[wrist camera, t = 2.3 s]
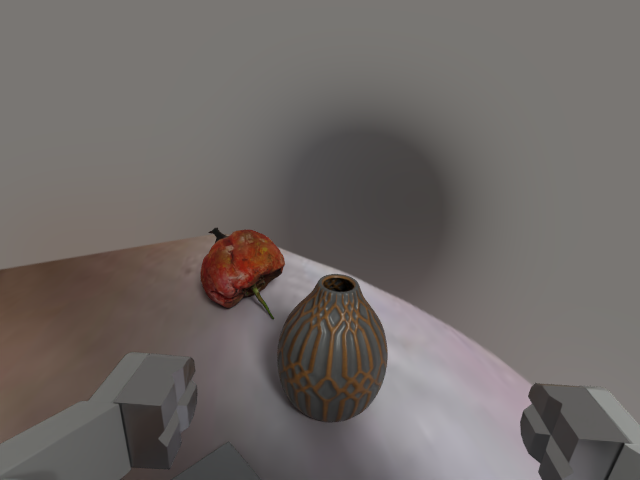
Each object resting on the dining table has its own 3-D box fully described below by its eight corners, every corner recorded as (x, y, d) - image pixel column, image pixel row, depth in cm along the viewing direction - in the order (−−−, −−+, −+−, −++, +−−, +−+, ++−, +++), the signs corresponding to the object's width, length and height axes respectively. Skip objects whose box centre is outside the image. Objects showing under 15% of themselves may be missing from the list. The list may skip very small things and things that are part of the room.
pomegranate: (293, 316, 38) (246, 235, 41) (320, 286, 32) (264, 194, 35) (225, 350, 34) (179, 258, 37) (242, 323, 28) (186, 216, 31)
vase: (264, 374, 27) (265, 264, 24) (350, 354, 30) (362, 252, 27) (296, 457, 21) (303, 327, 18) (400, 423, 24) (423, 304, 21)
